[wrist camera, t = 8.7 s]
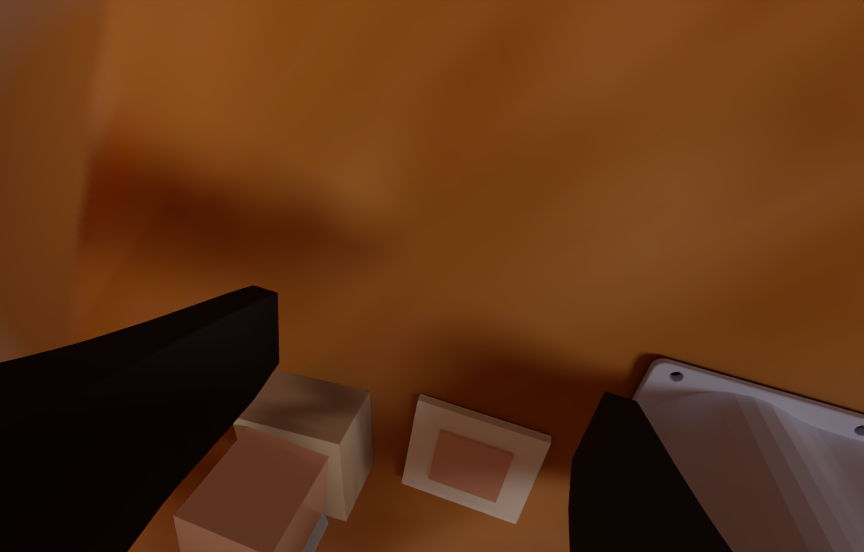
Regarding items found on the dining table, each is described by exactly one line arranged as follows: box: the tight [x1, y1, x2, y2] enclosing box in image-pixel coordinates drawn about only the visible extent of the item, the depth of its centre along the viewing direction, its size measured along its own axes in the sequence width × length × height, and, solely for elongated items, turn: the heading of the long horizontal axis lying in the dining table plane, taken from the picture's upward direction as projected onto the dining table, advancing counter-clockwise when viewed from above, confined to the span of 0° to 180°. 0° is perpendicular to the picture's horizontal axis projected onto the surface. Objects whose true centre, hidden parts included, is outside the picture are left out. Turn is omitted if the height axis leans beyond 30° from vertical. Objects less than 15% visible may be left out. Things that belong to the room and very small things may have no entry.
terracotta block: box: [173, 426, 329, 552], centre depth 21 cm, size 4×4×5 cm
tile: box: [402, 394, 551, 524], centre depth 24 cm, size 7×7×1 cm
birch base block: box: [233, 370, 373, 521], centre depth 25 cm, size 6×6×4 cm
